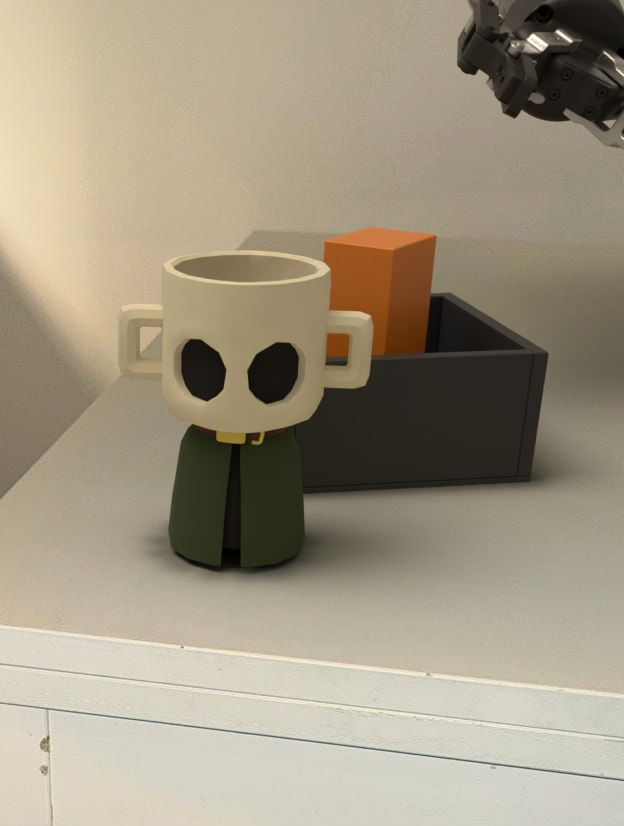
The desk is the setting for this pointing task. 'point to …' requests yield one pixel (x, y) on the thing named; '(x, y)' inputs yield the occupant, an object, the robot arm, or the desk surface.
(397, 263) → the block
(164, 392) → the character mug
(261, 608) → the desk surface
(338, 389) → the bin
